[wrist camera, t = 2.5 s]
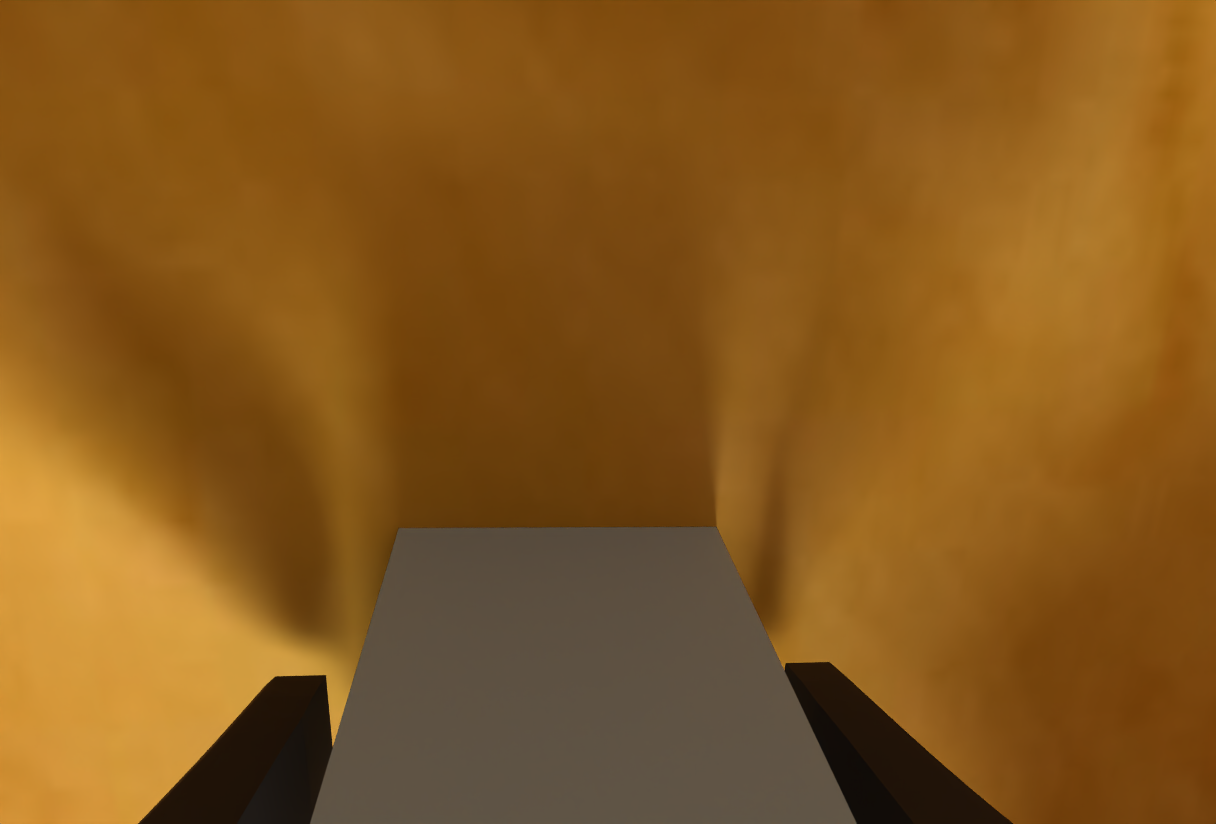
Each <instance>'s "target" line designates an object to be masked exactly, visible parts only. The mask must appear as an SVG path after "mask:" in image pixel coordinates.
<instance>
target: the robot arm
mask: <svg viewBox="0 0 1216 824" xmlns="http://www.w3.org/2000/svg"><path fill="white" fill-rule="evenodd" d="M785 673H786V675H787V677H788V679H789V682H790V684H791V686H792V688H793V690H794V692H795V694H796V696H797V698H798V701H799V703H800V705H801V707H802V709H803V711H804V713H805V715H806V718H807V720H808V722H809V724H810V726H811V728H812V730H813V732H814V734H815V737H816V739H817V741H818V743H819V745H820V747H821V749H822V751H823V753H824V756H825V758H826V760H827V762H828V764H829V766H830V768H831V770H832V772H833V775H834V777H835V779H836V781H837V783H838V785H839V787H840V789H841V791H842V794H843V796H844V798H845V800H846V802H847V804H848V806H849V808H850V811H851V813H852V815H853V817H854V819H855V821H856V823H857V824H1013V823H1012V822H1011V821H1009V820H1008V819H1007V818H1006V817H1004V816H1003V815H1002V814H1001V813H999V812H998V811H997V810H996V809H994V808H993V807H992V806H991V805H990V804H988V803H987V802H986V801H985V800H984V799H982V798H981V797H980V796H979V795H978V794H976V793H975V792H974V791H973V790H972V789H971V788H969V787H968V786H967V785H966V784H965V783H963V782H962V781H961V780H960V779H959V778H958V777H957V776H955V775H954V774H953V773H952V772H951V771H950V770H948V769H947V768H946V767H945V766H944V765H943V764H942V763H940V762H939V761H938V760H937V759H936V758H935V757H934V756H933V755H931V754H930V753H929V752H928V751H927V750H926V749H925V748H924V747H922V746H921V745H920V744H919V743H918V742H917V741H916V740H915V739H914V738H912V737H911V736H910V735H909V734H908V733H907V732H906V731H905V730H904V729H903V728H901V727H900V726H899V725H898V724H897V723H896V722H895V721H894V720H893V719H892V718H890V717H889V716H888V715H887V714H886V713H885V712H884V711H883V710H882V709H881V708H880V707H879V706H877V705H876V704H875V703H874V702H873V701H872V700H871V699H870V698H869V697H868V696H867V695H865V694H864V693H863V692H862V691H861V690H860V689H859V688H858V687H857V686H856V685H855V684H854V683H852V682H851V681H850V680H849V679H848V678H847V677H846V676H845V675H844V674H842V673H841V672H840V671H839V670H838V669H837V668H836V667H834V666H833V665H832V664H831V663H830V662H815V663H786V665H785ZM332 749H333V747H332V736H331V725H330V715H329V704H328V694H327V683H326V675H315V676H277V677H274V678H273V679H272V680H271V681H270V682H269V683H268V684H267V685H266V686H265V687H264V688H263V689H262V690H261V691H260V692H259V694H258V695H257V696H256V697H255V698H254V699H253V700H252V701H251V703H250V704H249V705H248V706H247V707H246V708H245V709H244V710H243V712H242V713H241V714H240V715H239V716H238V717H237V718H236V719H235V721H234V722H233V723H232V724H231V725H230V726H229V727H228V728H227V729H226V731H225V732H224V733H223V734H222V735H221V736H220V737H219V738H218V739H217V741H216V742H215V743H214V744H213V745H212V746H211V747H210V748H209V749H208V750H207V752H206V753H205V754H204V755H203V756H202V757H201V758H200V759H199V760H198V761H197V763H196V764H195V765H194V766H193V767H192V768H191V769H190V770H189V771H188V772H187V773H186V774H185V775H184V776H183V777H182V778H181V779H180V780H179V782H178V783H177V784H176V785H175V786H174V787H173V788H172V789H171V790H170V791H169V792H168V793H167V794H166V795H165V796H164V797H163V798H162V799H161V800H160V801H159V803H158V804H157V805H156V806H155V807H154V808H153V809H152V810H151V811H150V812H149V813H148V814H147V815H146V816H145V817H144V818H143V819H142V820H141V821H140V822H139V823H138V824H310V822H311V819H312V815H313V812H314V809H315V805H316V802H317V799H318V795H319V792H320V789H321V785H322V782H323V779H324V775H325V772H326V769H327V765H328V762H329V759H330V755H331V752H332Z"/></svg>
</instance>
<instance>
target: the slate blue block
mask: <svg viewBox="0 0 1216 824" xmlns="http://www.w3.org/2000/svg"><path fill="white" fill-rule="evenodd" d="M310 824H857V823H856V821H855V819H854V817H853V815H852V813H851V811H850V808H849V806H848V804H847V802H846V800H845V798H844V796H843V794H842V791H841V789H840V787H839V785H838V783H837V781H836V779H835V777H834V775H833V772H832V770H831V768H830V766H829V764H828V762H827V760H826V758H825V756H824V753H823V751H822V749H821V747H820V745H819V743H818V741H817V739H816V737H815V734H814V732H813V730H812V728H811V726H810V724H809V722H808V720H807V718H806V715H805V713H804V711H803V709H802V707H801V705H800V703H799V701H798V698H797V696H796V694H795V692H794V690H793V688H792V686H791V684H790V682H789V679H788V677H787V675H786V673H785V671H784V669H783V667H782V665H781V663H780V660H779V658H778V656H777V654H776V652H775V650H774V648H773V646H772V644H771V641H770V639H769V637H768V635H767V633H766V631H765V629H764V627H763V624H762V622H761V620H760V618H759V616H758V614H757V612H756V610H755V608H754V605H753V603H752V601H751V599H750V597H749V595H748V593H747V591H746V589H745V586H744V584H743V582H742V580H741V578H740V576H739V574H738V572H737V570H736V567H735V565H734V563H733V561H732V559H731V557H730V555H729V553H728V550H727V548H726V546H725V544H724V542H723V540H722V538H721V536H720V534H719V531H718V529H717V527H539V528H399V529H398V532H397V536H396V539H395V542H394V546H393V549H392V552H391V556H390V559H389V562H388V566H387V569H386V572H385V576H384V579H383V582H382V586H381V589H380V592H379V596H378V599H377V602H376V606H375V609H374V612H373V616H372V619H371V622H370V626H369V629H368V632H367V636H366V639H365V642H364V646H363V649H362V652H361V656H360V659H359V662H358V666H357V669H356V672H355V676H354V679H353V682H352V686H351V689H350V692H349V696H348V699H347V702H346V706H345V709H344V712H343V716H342V719H341V722H340V725H339V729H338V732H337V735H336V739H335V742H334V745H333V749H332V752H331V755H330V759H329V762H328V765H327V769H326V772H325V775H324V779H323V782H322V785H321V789H320V792H319V795H318V799H317V802H316V805H315V809H314V812H313V815H312V819H311V822H310Z"/></svg>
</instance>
